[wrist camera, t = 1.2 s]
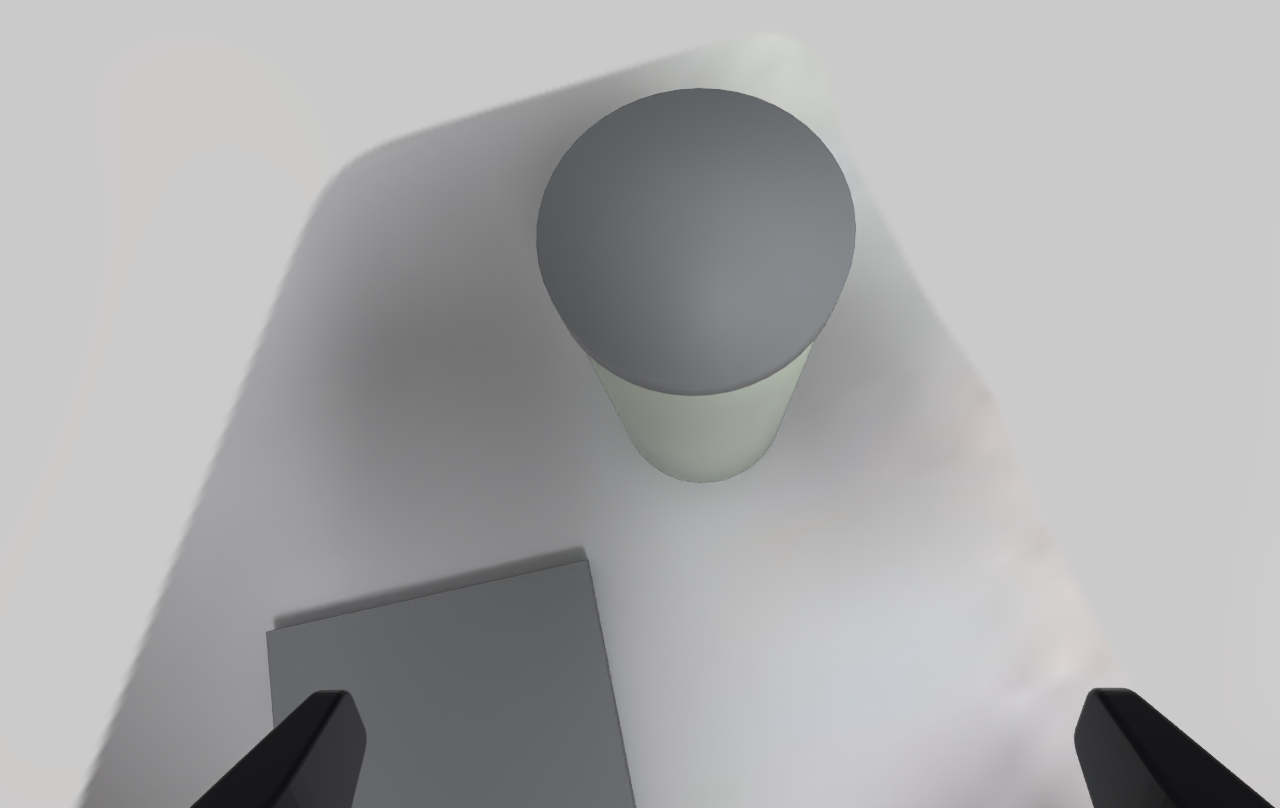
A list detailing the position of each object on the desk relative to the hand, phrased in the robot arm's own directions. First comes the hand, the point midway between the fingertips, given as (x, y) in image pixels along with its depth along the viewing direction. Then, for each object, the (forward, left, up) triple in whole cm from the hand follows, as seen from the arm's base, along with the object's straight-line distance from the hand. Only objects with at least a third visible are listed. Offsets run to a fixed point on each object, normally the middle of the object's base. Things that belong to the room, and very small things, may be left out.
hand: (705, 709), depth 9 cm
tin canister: (+7, -1, -13) cm, 15 cm away
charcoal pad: (-3, +8, -13) cm, 16 cm away
